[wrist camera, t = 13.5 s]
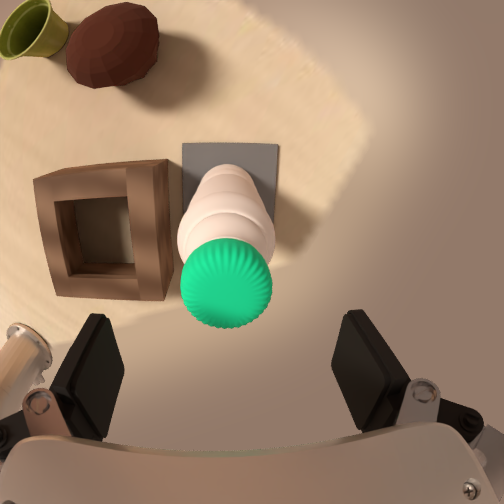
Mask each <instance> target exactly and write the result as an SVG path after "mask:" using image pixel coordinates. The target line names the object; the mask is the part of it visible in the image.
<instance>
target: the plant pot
mask: <svg viewBox="0 0 504 504" xmlns="http://www.w3.org/2000/svg"><path fill="white" fill-rule="evenodd" d="M68 34H69V31H68V25H67V24H66V23H65V22H64V21H63V20H62V19H61V18H60V17H59V16H58V15H57V14H56V13H55V12H54V11H53V9H52V7H51V3H50V1H49V0H26V1H25V2H23V3H22V4H20V5H19V6H18V7H17V8H16V9H15V10H14V11H13V12H12V13H11V15H10V16H9V17H8V18H7V20H6V22H5V23H4V25H3V27H2V29H1V31H0V57H1V58H3V59H5V60H13V59H16V58H19V57H22V56H33V57H49V56H51V55H53V54H54V53H56V52H58V51H59V50H60V49H61V48H62V47H63V45H64V44H65V42H66V40H67V38H68Z"/></svg>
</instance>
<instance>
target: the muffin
mask: <svg viewBox="0 0 504 504" xmlns="http://www.w3.org/2000/svg"><path fill="white" fill-rule="evenodd" d="M158 38H159V31H158V24H157V18H156V17H155V16H154V15H153V14H152V13H151V12H150V11H149V10H148V9H147V8H146V7H145V6H142V5H138V4H133V3H129V2H124V3H119V4H114V5H109V6H106V7H104V8H102V9H100V10H99V11H97V12H95V13H93V14H92V15H90V16H88V17H87V18H85V19H84V20H83V21H82V23H81V24H80V25H79V26H78V27H77V28H76V29H75V31H74V32H73V33H72V35H71V37H70V40H69V42H68V45H67V48H66V59H67V70H68V72H69V73H70V74H71V76H72V77H73V78H74V79H75V81H76V82H77V83H78V84H81V85H84V86H87V87H90V88H93V89H96V88H102V87H109V86H123V85H126V84H128V83H130V82H132V81H134V80H137V79H141V78H144V77H145V75H146V74H147V72H148V71H149V69H150V68H151V67H152V66H153V65H154V64H155V63H156V62H157V51H158V46H159V39H158Z"/></svg>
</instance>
